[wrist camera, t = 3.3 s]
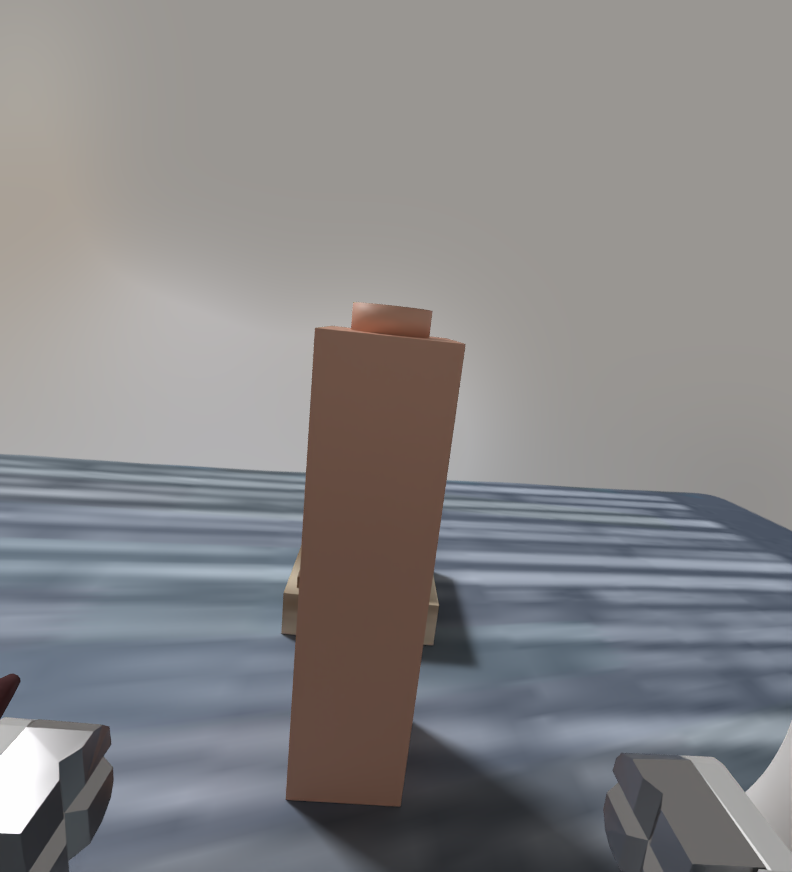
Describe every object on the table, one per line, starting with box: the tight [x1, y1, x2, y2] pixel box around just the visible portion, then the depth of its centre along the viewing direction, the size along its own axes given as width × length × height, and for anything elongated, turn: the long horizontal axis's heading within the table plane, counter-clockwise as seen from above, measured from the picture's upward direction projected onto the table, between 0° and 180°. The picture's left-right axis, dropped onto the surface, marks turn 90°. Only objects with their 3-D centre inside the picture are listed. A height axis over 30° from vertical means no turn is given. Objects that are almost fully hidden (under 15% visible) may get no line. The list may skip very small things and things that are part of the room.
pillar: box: [286, 302, 465, 807], centre depth 20 cm, size 5×5×21 cm
